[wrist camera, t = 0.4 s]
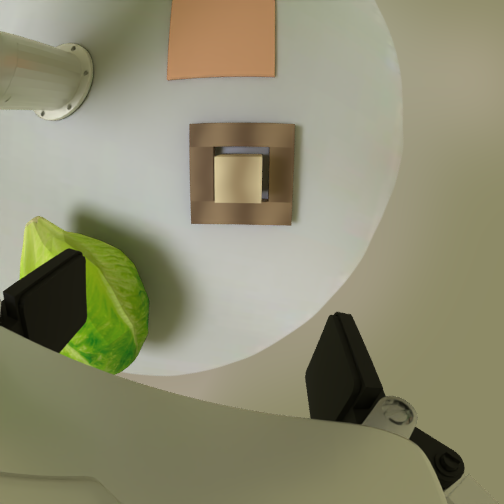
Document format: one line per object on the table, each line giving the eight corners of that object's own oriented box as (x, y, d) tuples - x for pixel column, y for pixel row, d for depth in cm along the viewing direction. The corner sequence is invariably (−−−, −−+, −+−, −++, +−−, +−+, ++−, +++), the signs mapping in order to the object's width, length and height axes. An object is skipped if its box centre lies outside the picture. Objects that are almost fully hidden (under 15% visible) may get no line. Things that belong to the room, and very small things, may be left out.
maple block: (223, 191, 40) (214, 202, 33) (222, 153, 39) (214, 156, 31) (260, 191, 40) (261, 203, 33) (261, 154, 39) (262, 156, 31)
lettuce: (107, 173, 40) (33, 197, 24) (190, 316, 47) (163, 393, 31) (33, 230, 43) (-33, 269, 27) (108, 347, 50) (69, 412, 34)
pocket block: (194, 220, 42) (191, 223, 40) (192, 124, 37) (189, 124, 35) (289, 221, 42) (291, 225, 40) (293, 125, 37) (294, 124, 35)
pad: (168, 80, 35) (166, 79, 35) (174, -5, 30) (173, -6, 30) (274, 77, 35) (274, 76, 34) (274, -10, 30) (274, -12, 29)
